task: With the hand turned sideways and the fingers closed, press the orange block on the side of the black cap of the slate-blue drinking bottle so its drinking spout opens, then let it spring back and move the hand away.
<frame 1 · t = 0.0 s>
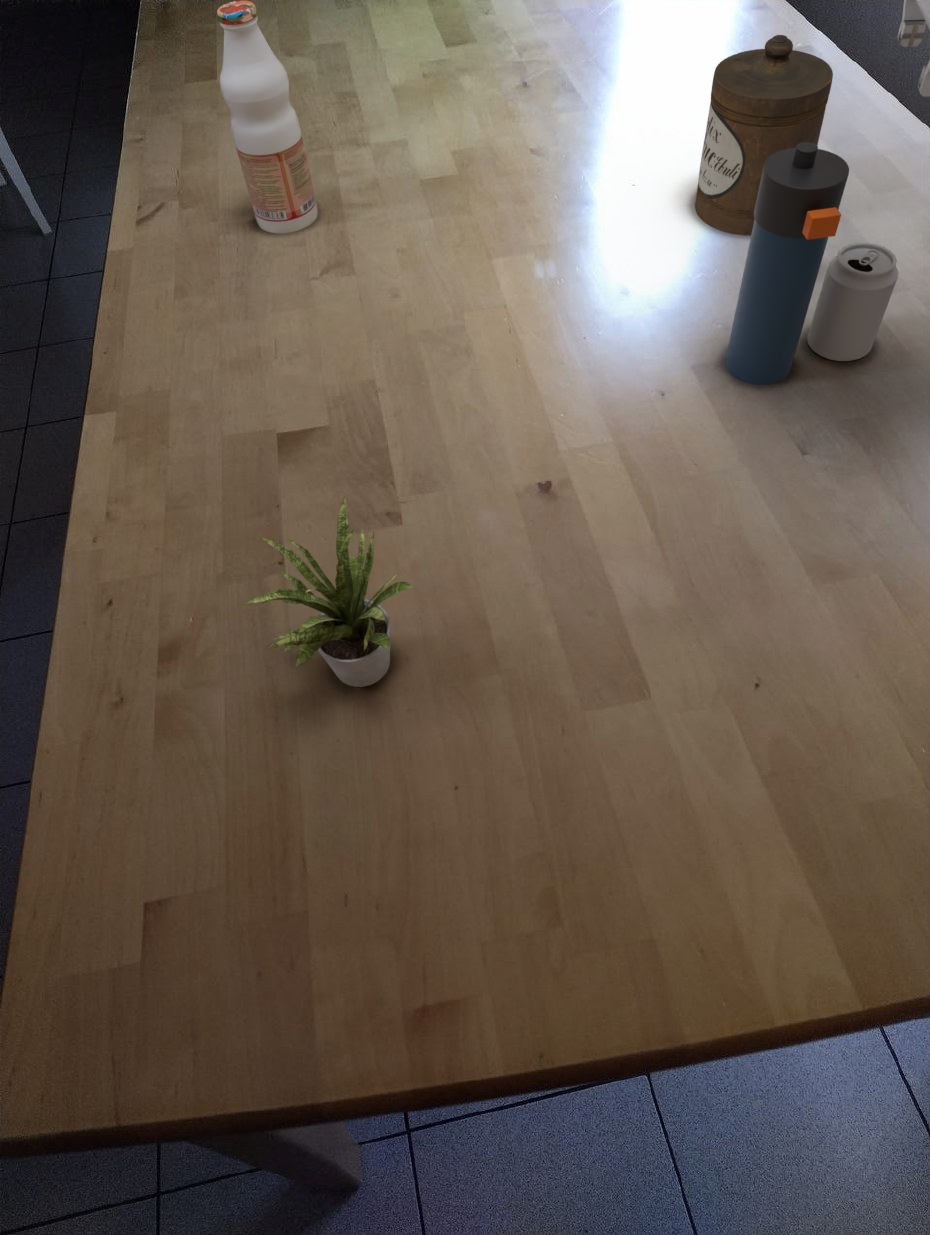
hand: (917, 67, 74), 34 cm above the table, tool pointing down, fingers open, 8 cm apart
wooden container: (746, 212, 124), on the table
can: (836, 348, 105), on the table
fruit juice: (288, 221, 131), on the table
orange block: (821, 223, 83), point 22 cm above the table, slide at -0.1 cm
bottle: (756, 368, 104), on the table
house plant: (357, 657, 84), on the table
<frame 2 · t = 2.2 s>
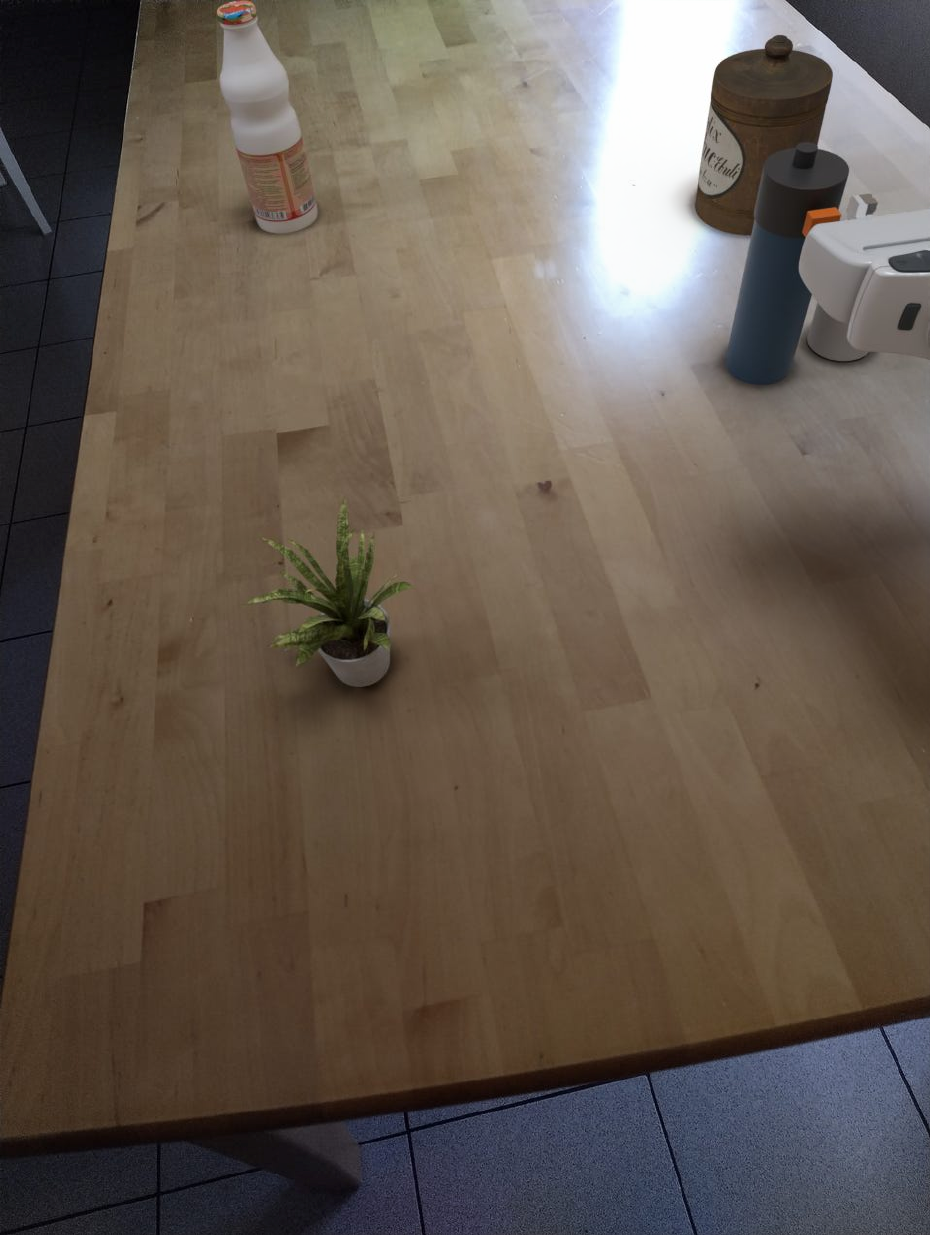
hand: (900, 197, 70), 30 cm above the table, tool horizontal, fingers open, 6 cm apart
nothing on the table moved.
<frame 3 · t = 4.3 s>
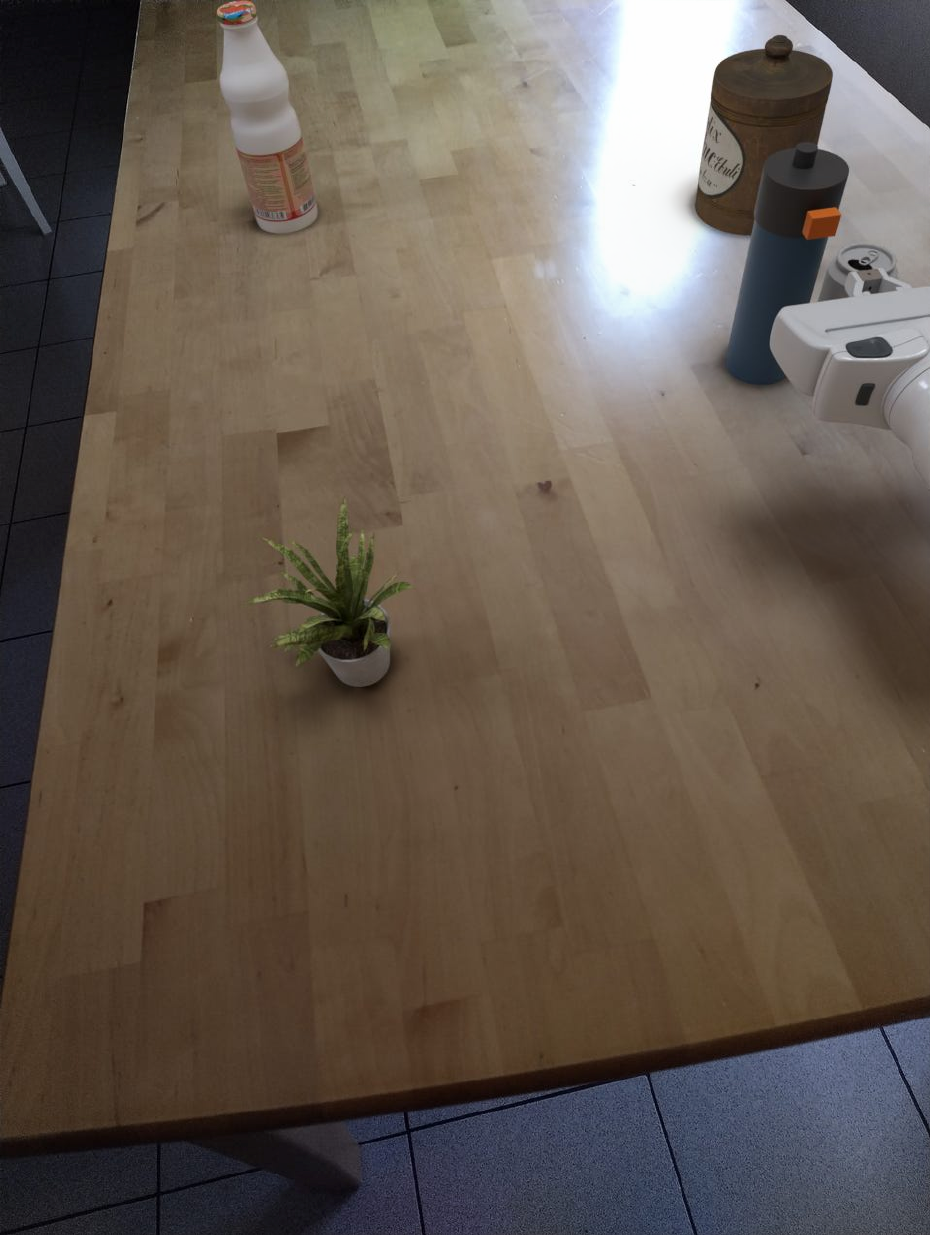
hand: (862, 276, 77), 22 cm above the table, tool horizontal, fingers closed
nothing on the table moved.
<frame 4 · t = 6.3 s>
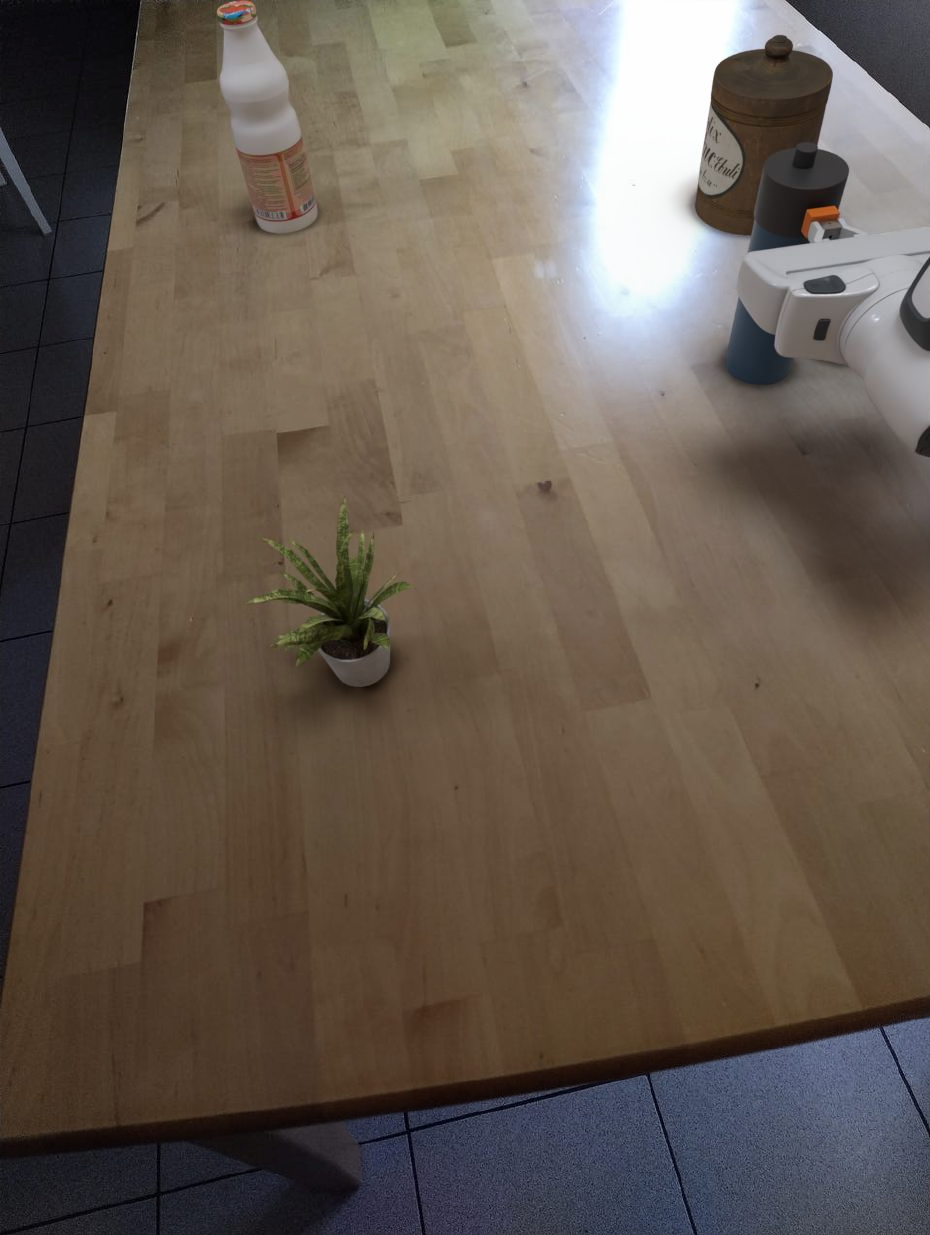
hand: (823, 227, 83), 21 cm above the table, tool horizontal, fingers closed, pressing on orange block
orange block: (820, 222, 83), point 21 cm above the table, slide at 0.2 cm, touching gripper
everything else where it was.
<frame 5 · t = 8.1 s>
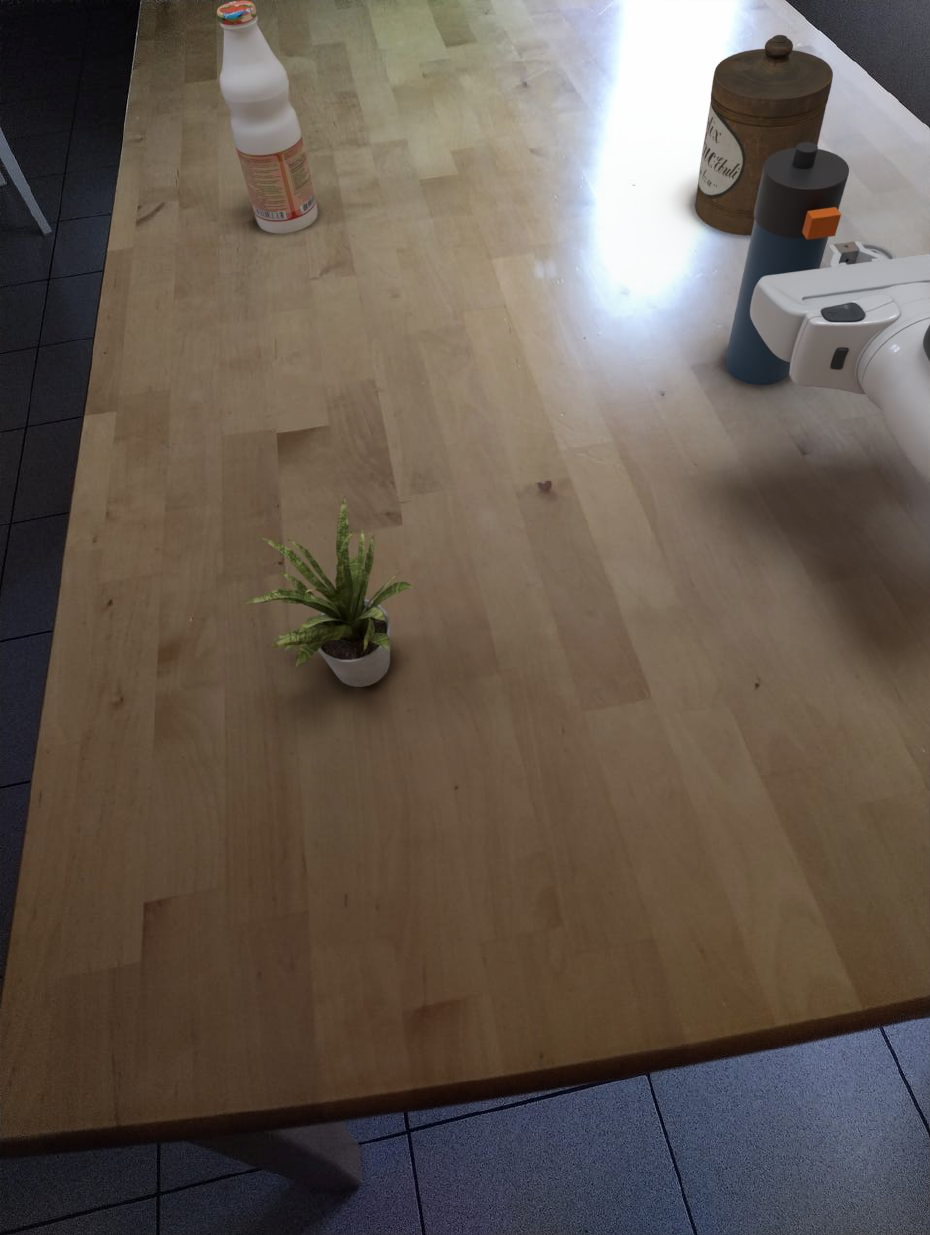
hand: (839, 249, 80), 22 cm above the table, tool horizontal, fingers closed
orange block: (821, 223, 83), point 21 cm above the table, slide at -0.1 cm
everything else where it was.
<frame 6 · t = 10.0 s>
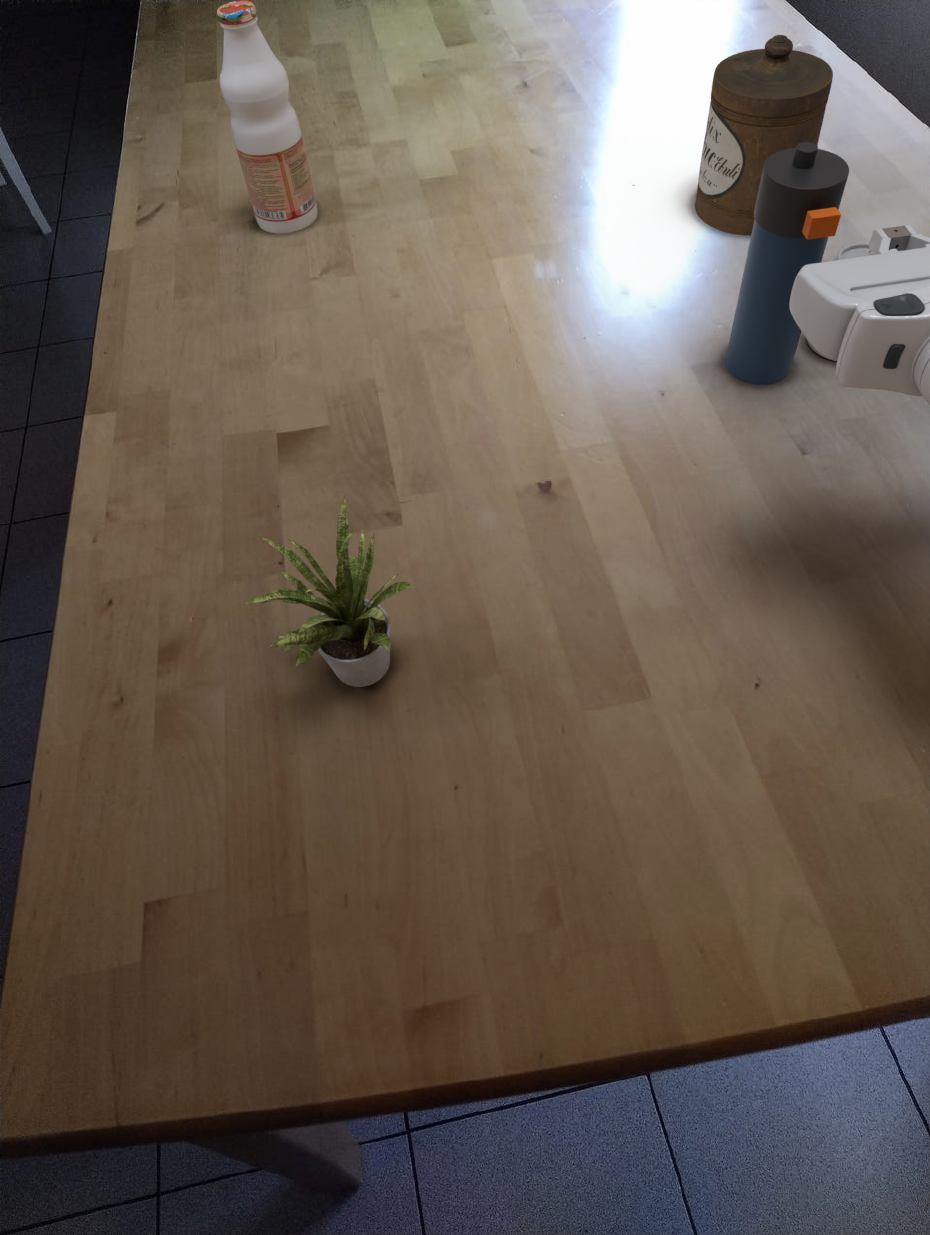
hand: (888, 234, 72), 27 cm above the table, tool horizontal, fingers closed
nothing on the table moved.
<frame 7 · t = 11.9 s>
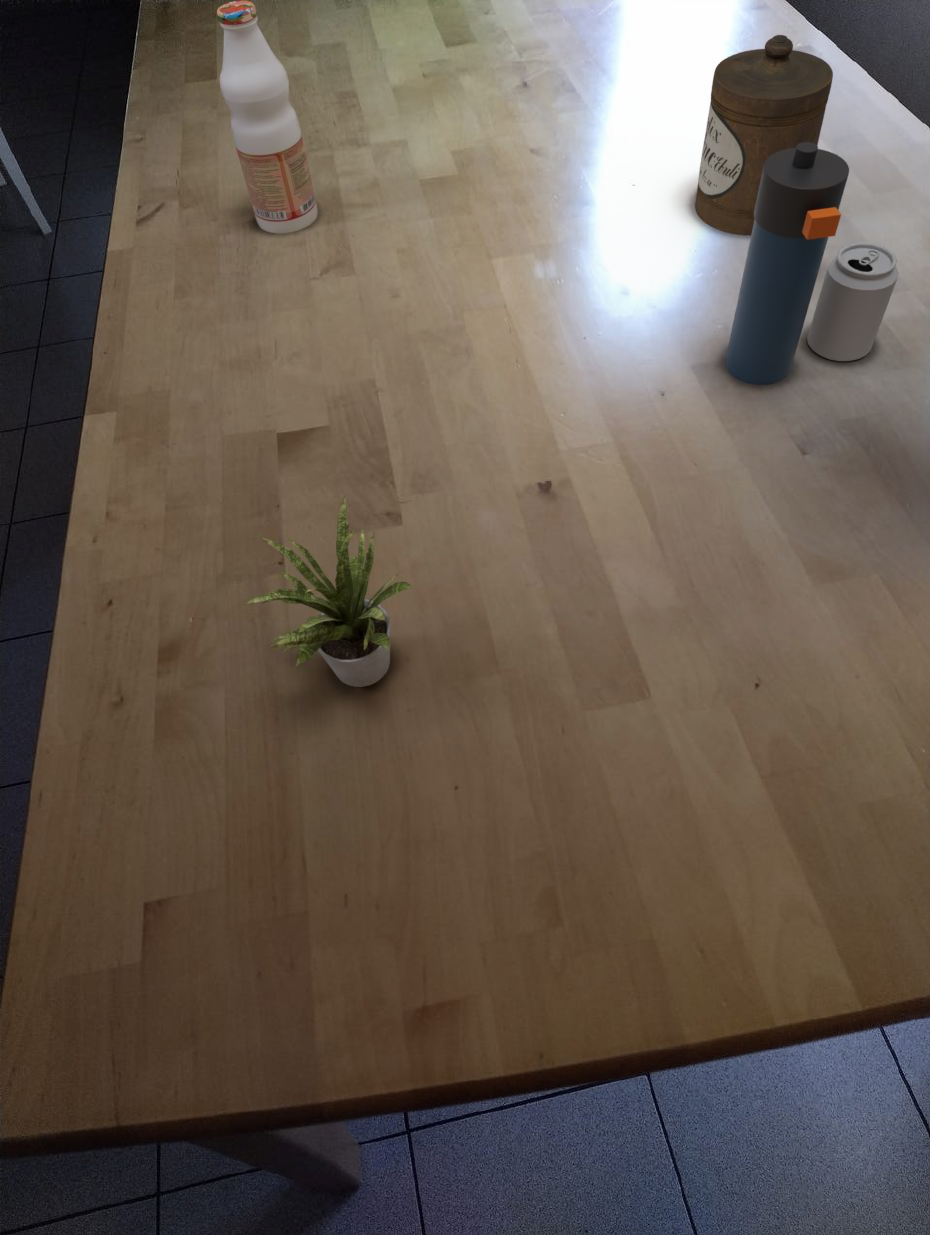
nothing on the table moved.
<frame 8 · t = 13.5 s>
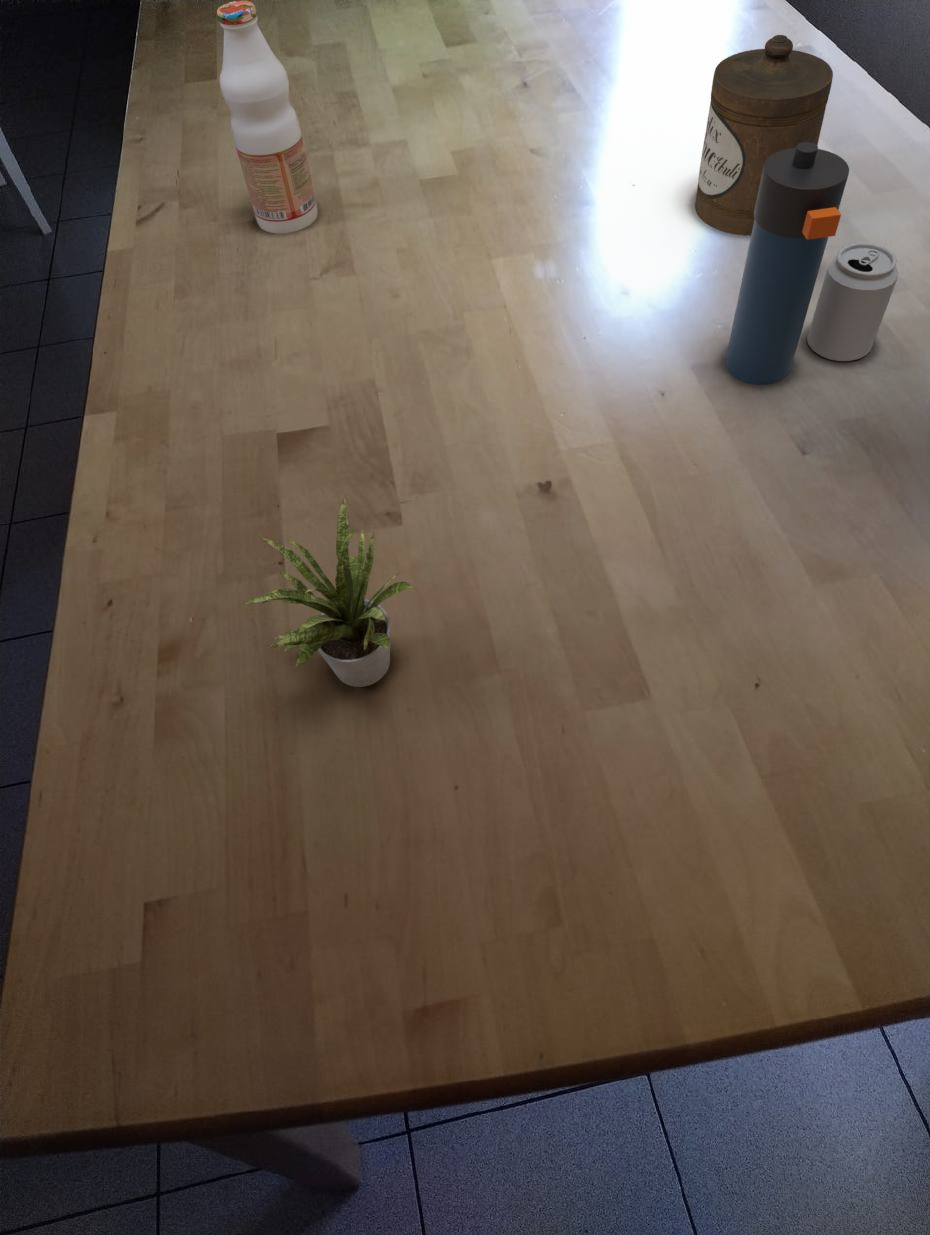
nothing on the table moved.
at the end: orange block pulled out 0.6 cm at the most during the clip, back to where it started at the end; orange block slide at -0.1 cm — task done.
